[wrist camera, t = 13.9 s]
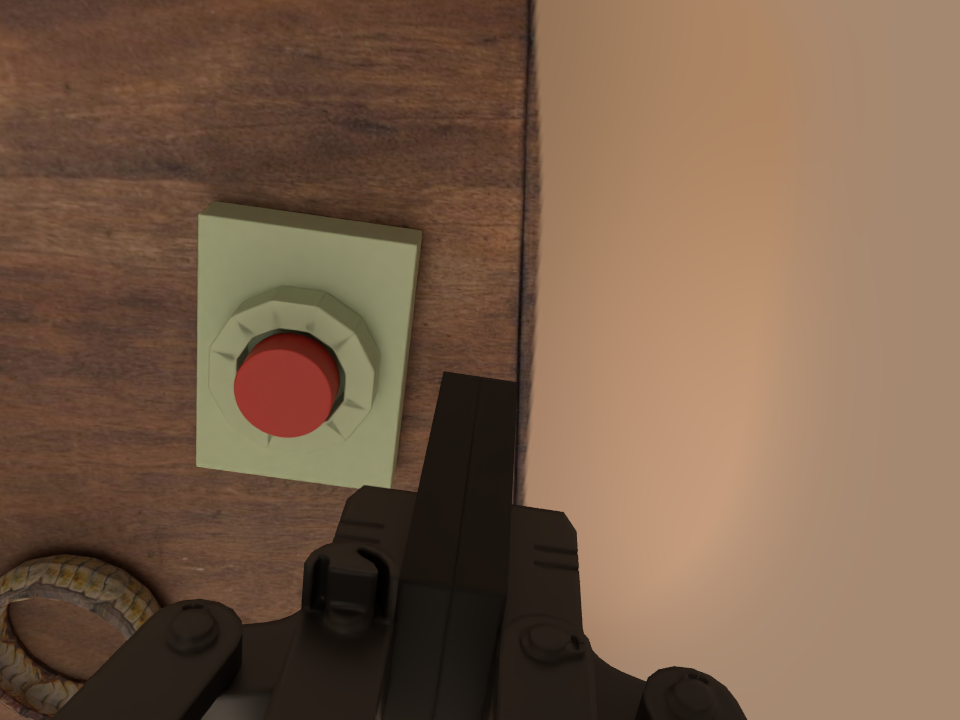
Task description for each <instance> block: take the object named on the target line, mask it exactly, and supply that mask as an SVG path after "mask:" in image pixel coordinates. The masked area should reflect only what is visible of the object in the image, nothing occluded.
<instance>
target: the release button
mask: <svg viewBox="0 0 960 720" xmlns="http://www.w3.org/2000/svg"><path fill="white" fill-rule="evenodd" d="M339 385H340V376H339V371H338V367H337V365H336V363H335V361H334V359H333V357H332V356H331V354H330V353H329V352H328V351H327V350H326V349H325V348H324V347H323V346H322V345H321V344H320V343H318V342H317V341H315V340H313V339H311V338H309V337H307V336H304V335H300V334H295V333H280V334H275V335H272V336H269V337H267V338H265V339H263V340H262V341H260V342H259V343H258V344H256V345H255V347H254V348H253V349H252V350H251V352H250V353H249V355H248V356H247V357H246V359H245V360H244V362H243V363H242V365H241V366H240V368H239V370H238V372H237V374H236V377H235V381H234V395H235V400H236V403H237V406H238V408H239V410H240V411H241V413H242V414H243V416H244V417H245V418H246V419H247V420H248V421H249V422H250V423H251V424H252V425H253V426H255V427H256V428H257V429H259V430H261V431H262V432H265V433H267V434H270V435H273V436H277V437H284V438H293V437H299V436H303V435H306V434H308V433H311V432H312V431H314V430H316V429H317V428H318V427H320V426H321V425H322V424H323V422H324V421H325V420H326V418H327V417H328V415H329V413H330V411H331V408H332V406H333V403H334V401H335V399H336V396H337V394H338V390H339Z"/></svg>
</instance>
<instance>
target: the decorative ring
mask: <svg viewBox="0 0 960 720" xmlns="http://www.w3.org/2000/svg"><path fill="white" fill-rule="evenodd" d="M34 598H42V599H50V600H57V601H65V602H69V603H72V604H74V605H76V606H79V607H81V608H84V609H86V610H89V611H91V612H94V613H96V614H97V615H99V616H100V617H101V618H103V619H104V620H105V621H107V622H108V623H109V624H111V625H112V626H113V627H114V628H116V629H117V630H118V631H120V632H121V634H122V635H123V637H124V638H125V639H126V641H127V640H128V639H129V638H130V637H131V636H132V635H133V634H134V633H135V632H136V631H137V630H138V629H139V628H140V627H141V626H142V625H143V624H144V623H145V622H146V621H147V619H148V618H149V617H151V616H152V615H154V614H155V613H156V612H158V611H159V610H160V609H162V608H161V606H160V605H159V603H158V602H157V601H156V599H155V598H154V596H153V595H152V593H151V592H150V590H149V589H148V588H147V587H145V586H144V585H143V584H142V583H140V582H139V581H138V580H137V579H135V578H134V577H133V576H132V575H130V574H129V573H128V572H126V571H125V570H123V569H121V568H119V567H116V566H114V565H111V564H109V563H107V562H104V561H102V560H99V559H97V558H93V557H86V556H78V555H70V554H60V555H55V556H49V557H43V558H37V559H33V560H29V561H25V562H24V563H22V564H20V565H19V566H17V567H15V568H14V569H12V570H10V571H9V572H7V573H5V574H4V575H2V576H0V702H1V703H2V704H4V705H5V706H7V707H8V708H9V709H11V710H12V711H14V712H15V713H17V714H18V715H19V716H21V717H24V718H26V719H29V720H50V719H51V718H52V717H53V716H54V715H55V714H56V713H57V712H58V711H59V710H60V709H61V708H62V707H63V706H64V705H65V704H66V703H67V702H68V701H69V700H70V699H71V697H72V696H73V695H74V694H75V693H76V692H77V691H78V690H79V689H80V688H81V687H82V686H83V685H84V684H85V683H86V682H87V681H81V680H75V679H73V678H70V677H68V676H65V675H63V674H60V673H58V672H55V671H53V670H50V669H49V668H48V667H46V666H45V665H44V664H42V663H41V662H39V661H38V660H37V659H35V658H34V657H33V656H31V655H30V654H29V653H28V652H27V650H26V649H25V648H24V647H23V645H22V644H21V643H20V641H19V640H18V639H17V637H16V636H15V635H14V633H13V630H12V627H11V624H10V620H9V617H8V614H7V608H8V604H9V603H11V602H16V601H22V600H28V599H34Z"/></svg>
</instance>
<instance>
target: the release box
mask: <svg viewBox="0 0 960 720" xmlns="http://www.w3.org/2000/svg"><path fill="white" fill-rule="evenodd" d="M422 233H423V232H422V231H421V230H416V229H408V228H401V227H394V226H387V225H380V224H373V223H366V222H359V221H352V220H345V219H338V218H331V217H324V216H317V215H310V214H303V213H296V212H289V211H282V210H274V209H267V208H260V207H253V206H246V205H239V204H232V203H225V202H218V201H214V202H213V203H212V204H210V205H209V206H208V207H207V208H205V209H204V210H203V211H202V212H201V213H199V215H198V304H197V426H196V466H197V467H204V468H211V469H218V470H226V471H233V472H240V473H248V474H255V475H262V476H269V477H277V478H284V479H291V480H299V481H306V482H313V483H321V484H328V485H335V486H343V487H350V488H357V489H360V488H361V487H362V486H363V485H369V486H376V487H383V488H390V489H391V488H392V483H393V479H394V475H395V471H396V465H397V456H398V447H399V438H400V429H401V420H402V411H403V403H404V394H405V385H406V376H407V367H408V358H409V349H410V340H411V331H412V322H413V313H414V304H415V295H416V287H417V278H418V269H419V260H420V251H421V242H422ZM280 333H295V334H300V335H304V336H307V337H309V338H311V339H313V340H315V341H317V342H318V343H320V344H321V345H322V346H323V347H324V348H325V349H326V350H327V351H328V352H329V353H330V354H331V356H332V357H333V359H334V361H335V363H336V365H337V367H338V371H339V376H340V385H339V390H338V394H337V396H336V399H335V401H334V403H333V406H332V408H331V411H330V413H329V415H328V417H327V418H326V420H325V421H324V422H323V424H322V425H321V426H320V427H318V428H317V429H316V430H314V431H312V432H311V433H308V434H306V435H303V436H299V437H293V438H284V437H277V436H273V435H270V434H267V433H265V432H262V431H261V430H259V429H257V428H256V427H255V426H253V425H252V424H251V423H250V422H249V421H248V420H247V419H246V418H245V417H244V416H243V414H242V413H241V411H240V410H239V408H238V406H237V403H236V400H235V395H234V381H235V377H236V374H237V372H238V370H239V368H240V366H241V365H242V363H243V362H244V360H245V359H246V357H247V356H248V355H249V353H250V352H251V350H252V349H253V348H254V347H255V345H256V344H258V343H259V342H260V341H262V340H263V339H265V338H267V337H269V336H272V335H275V334H280Z"/></svg>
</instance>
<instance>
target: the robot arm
mask: <svg viewBox="0 0 960 720" xmlns="http://www.w3.org/2000/svg"><path fill="white" fill-rule="evenodd" d="M516 400H517V382H512V381H506V380H499V379H492V378H485V377H478V376H472V375H465V374H458V373H451V372H445V371H444V372H443V377H442V382H441V386H440V391H439V395H438V400H437V405H436V409H435V414H434V418H433V423H432V428H431V432H430V437H429V442H428V446H427V451H426V455H425V460H424V465H423V469H422V474H421V479H420V483H419V488H418V492H410V491H403V490H396V489H390V488H383V487H376V486H369V485H363V486H362V487H361V488H360V489H359V490H358V491H356V492H355V493H354V494H353V495H352V496H351V497H349V498H348V499H347V501H346V504H345V507H344V510H343V513H342V516H341V519H340V522H339V524H338V527H337V530H336V533H335V537H334V539H333V542H332V543H330V544H326V545H324V546H322V547H320V548H319V549H317V550H315V551H313V552H312V553H311V554H310V556H309V557H308V559H307V560H306V561H305V563H304V576H303V591H302V606H301V610H300V611H298V612H296V613H295V614H293V615H291V616H288V617H285V618H283V619H280V620H275V621H270V622H264V623H254V624H243V625H242V621H241V619H240V618H239V617H238V616H237V614H236V613H235V612H234V610H233V609H231V608H229V607H227V606H225V605H223V604H221V603H220V602H215V601H209V600H204V599H196V600H184V601H180V602H177V603H174V604H171V605H168V606H165V607H163V608H162V609H160V610H159V611H158V612H156V613H155V614H154V615H152V616H151V617H149V618H148V619H147V621H146V622H145V623H144V624H143V625H142V626H141V627H140V628H139V629H138V630H137V631H136V632H135V633H134V634H133V635H132V636H131V637H130V638H129V639H128V640H127V641H126V642H125V643H124V644H123V645H122V646H121V647H120V648H119V649H118V650H117V651H116V652H115V653H114V654H113V655H112V656H111V657H110V658H109V660H108V661H107V662H106V663H105V664H104V665H103V666H102V667H101V668H100V669H99V670H98V671H97V672H96V673H95V674H94V675H93V676H92V677H91V678H90V679H89V680H88V681H87V682H86V683H85V684H84V685H83V686H82V687H81V688H80V689H79V690H78V691H77V692H76V693H75V694H74V695H73V696H72V697H71V699H70V700H69V701H68V702H67V703H66V704H65V705H64V706H63V707H62V708H61V709H60V710H59V711H58V712H57V713H56V714H55V715H54V716H53V717H52V718H51V719H50V720H747V718H746V717H745V715H744V713H743V711H742V709H741V708H740V706H739V704H738V702H737V700H736V699H735V698H734V697H733V695H732V694H731V693H730V691H729V690H728V689H727V688H726V686H724V685H723V684H721V683H720V682H719V681H717V680H716V679H714V678H713V677H712V676H710V675H708V674H705V673H703V672H700V671H697V670H695V669H692V668H684V667H676V666H673V667H668V668H664V669H659V670H657V671H656V672H655V673H653V674H652V675H651V676H649V677H648V679H647V681H643V680H641V679H638V678H636V677H633V676H631V675H628V674H626V673H624V672H621V671H620V670H618V669H616V668H614V667H611V666H610V665H609V664H607V663H606V662H605V661H603V660H602V659H600V658H599V657H598V656H597V655H596V654H595V653H594V651H593V650H592V648H591V645H590V642H589V639H588V638H587V637H586V635H585V634H584V632H583V626H582V612H581V611H582V610H581V595H580V580H579V571H578V568H579V563H578V555H577V552H578V549H577V532H576V530H575V528H574V527H573V526H572V524H571V522H570V521H569V520H568V518H567V516H566V515H565V514H564V512H560V511H553V510H546V509H539V508H533V507H526V506H519V505H512V486H513V464H514V443H515V422H516Z"/></svg>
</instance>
